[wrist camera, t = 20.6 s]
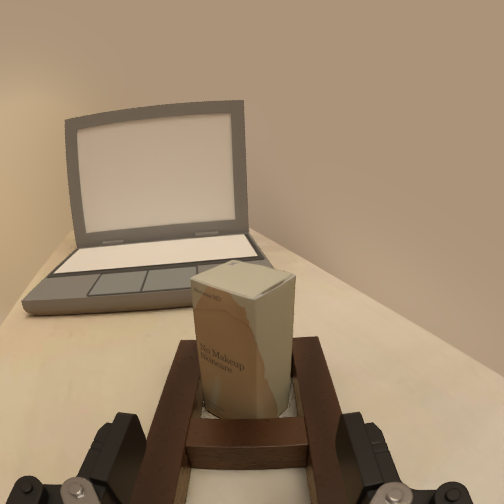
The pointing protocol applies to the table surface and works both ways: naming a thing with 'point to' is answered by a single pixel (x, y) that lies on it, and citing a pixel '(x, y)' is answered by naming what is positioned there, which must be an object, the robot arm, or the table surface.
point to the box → (244, 338)
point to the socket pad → (242, 432)
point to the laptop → (150, 207)
